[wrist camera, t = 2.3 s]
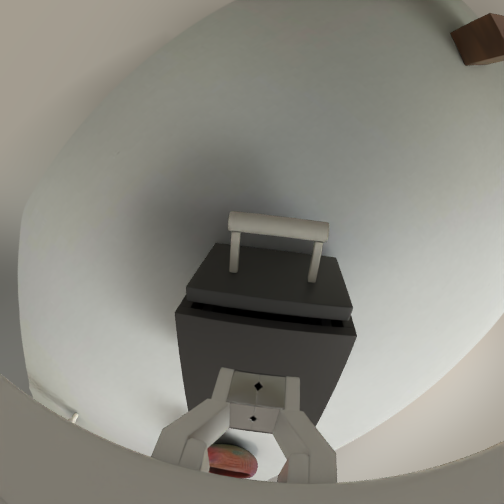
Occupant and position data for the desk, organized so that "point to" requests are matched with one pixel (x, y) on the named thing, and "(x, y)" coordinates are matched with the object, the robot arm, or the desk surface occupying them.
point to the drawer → (272, 275)
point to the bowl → (231, 461)
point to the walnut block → (481, 40)
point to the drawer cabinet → (261, 353)
